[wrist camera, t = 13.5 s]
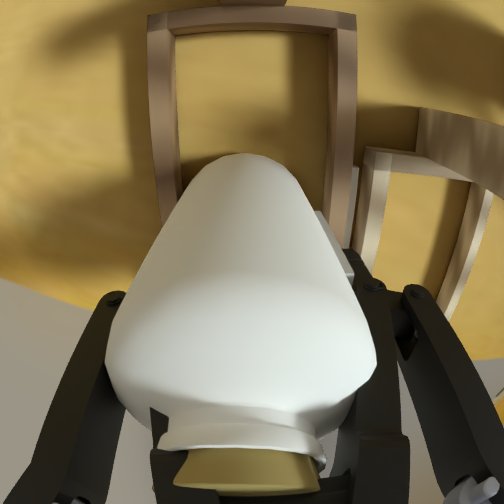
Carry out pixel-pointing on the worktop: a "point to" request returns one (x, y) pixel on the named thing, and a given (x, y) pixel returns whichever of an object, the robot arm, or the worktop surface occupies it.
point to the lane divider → (351, 206)
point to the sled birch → (440, 165)
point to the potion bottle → (242, 333)
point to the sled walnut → (255, 18)
